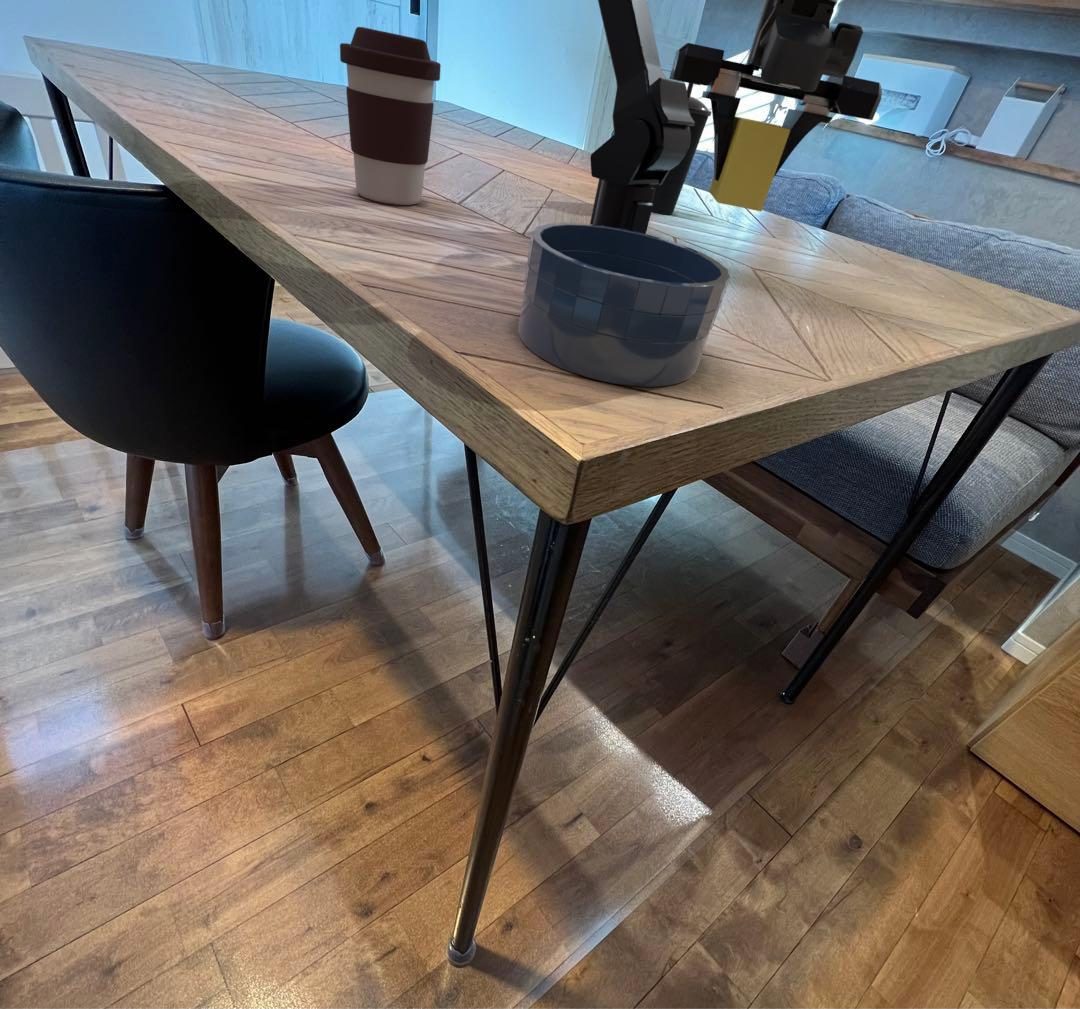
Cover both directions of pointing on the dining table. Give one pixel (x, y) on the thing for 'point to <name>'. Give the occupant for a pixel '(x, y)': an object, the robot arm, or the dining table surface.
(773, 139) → the sponge
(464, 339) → the dining table surface
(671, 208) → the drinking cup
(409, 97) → the coffee cup
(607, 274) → the bowl
